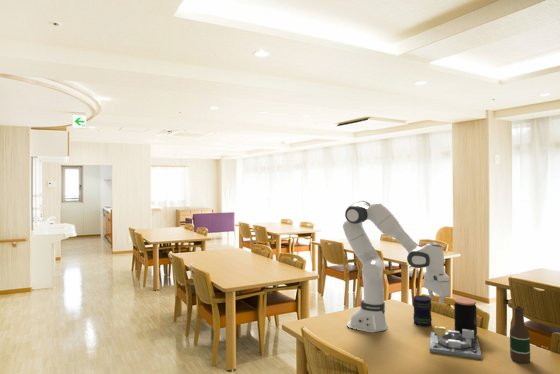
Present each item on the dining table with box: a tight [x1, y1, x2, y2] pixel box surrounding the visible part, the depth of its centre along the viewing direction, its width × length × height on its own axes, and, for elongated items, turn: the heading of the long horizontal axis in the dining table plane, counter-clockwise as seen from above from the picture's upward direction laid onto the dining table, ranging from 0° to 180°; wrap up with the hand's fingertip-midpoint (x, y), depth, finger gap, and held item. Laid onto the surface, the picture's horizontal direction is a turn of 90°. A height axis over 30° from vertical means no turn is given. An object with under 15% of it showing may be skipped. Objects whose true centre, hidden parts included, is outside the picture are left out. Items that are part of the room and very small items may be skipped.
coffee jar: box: [453, 297, 478, 337], centre depth 206 cm, size 11×11×18 cm
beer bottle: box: [509, 305, 531, 364], centre depth 175 cm, size 8×8×24 cm
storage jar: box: [412, 295, 433, 328], centre depth 223 cm, size 10×10×15 cm
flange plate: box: [429, 331, 482, 360], centre depth 191 cm, size 22×22×6 cm
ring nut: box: [434, 325, 474, 349], centre depth 191 cm, size 18×15×6 cm
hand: (436, 300), depth 202 cm, fingers open, 8 cm apart
